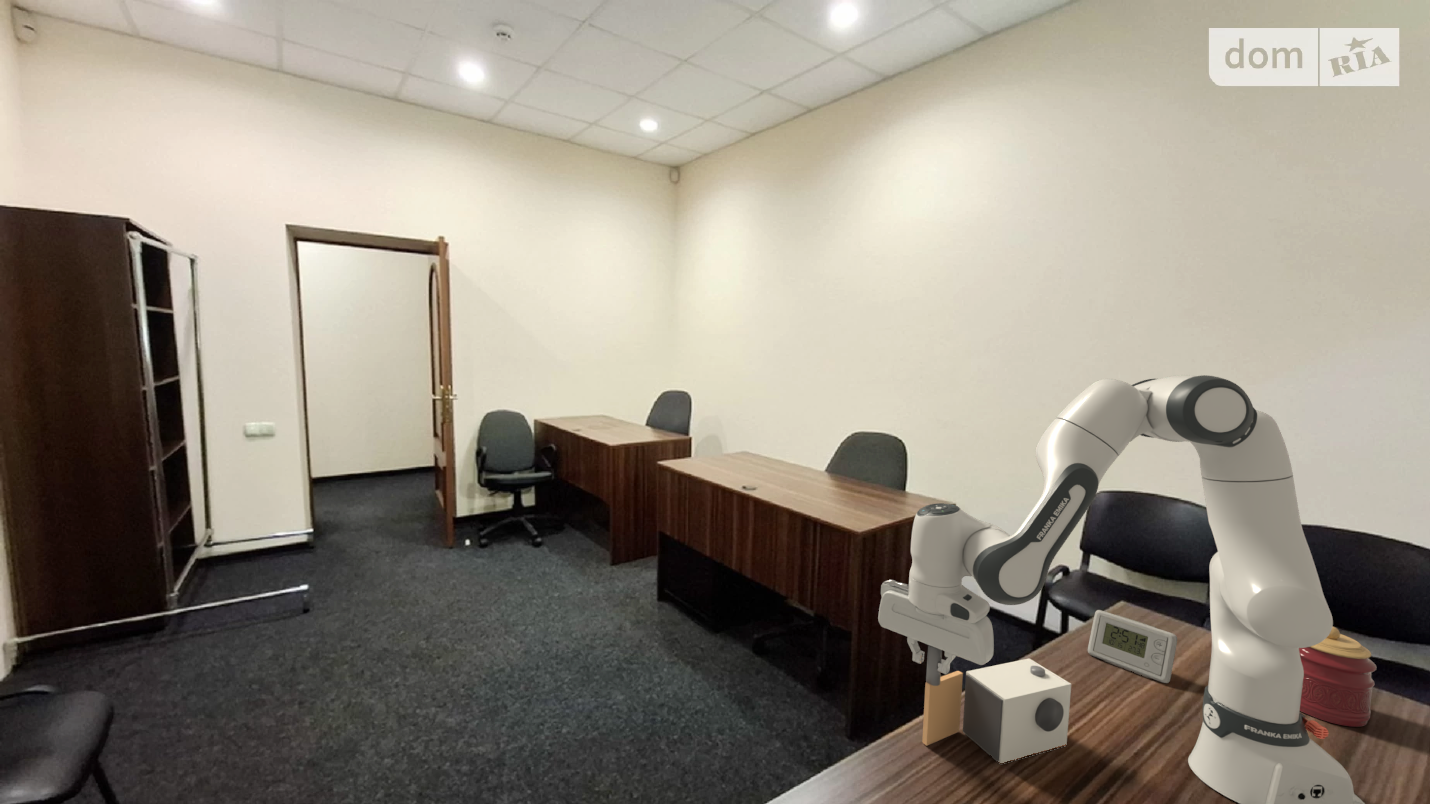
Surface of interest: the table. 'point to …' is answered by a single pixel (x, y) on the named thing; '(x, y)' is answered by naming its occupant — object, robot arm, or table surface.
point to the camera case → (1016, 709)
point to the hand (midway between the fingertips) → (930, 666)
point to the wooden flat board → (940, 700)
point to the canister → (1337, 680)
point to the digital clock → (1133, 645)
